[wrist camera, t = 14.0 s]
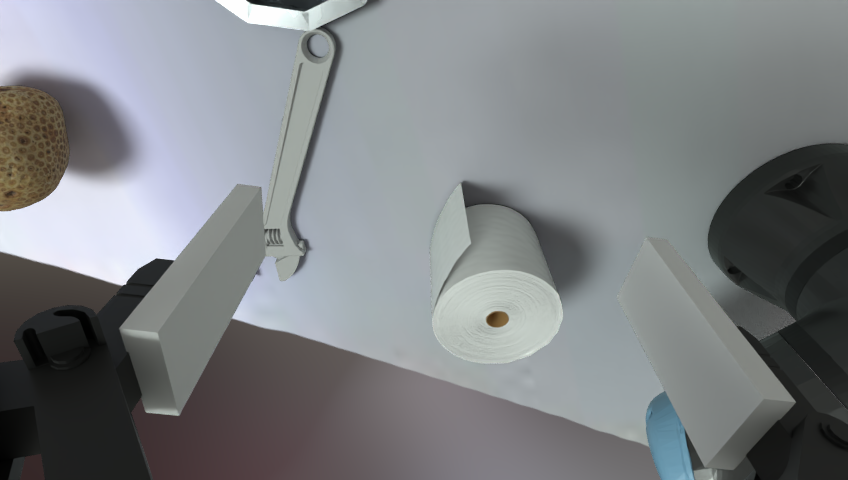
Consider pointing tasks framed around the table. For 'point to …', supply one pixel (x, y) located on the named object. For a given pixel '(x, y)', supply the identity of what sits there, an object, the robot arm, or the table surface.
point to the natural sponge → (30, 146)
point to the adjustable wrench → (294, 152)
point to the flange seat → (291, 11)
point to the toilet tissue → (490, 284)
